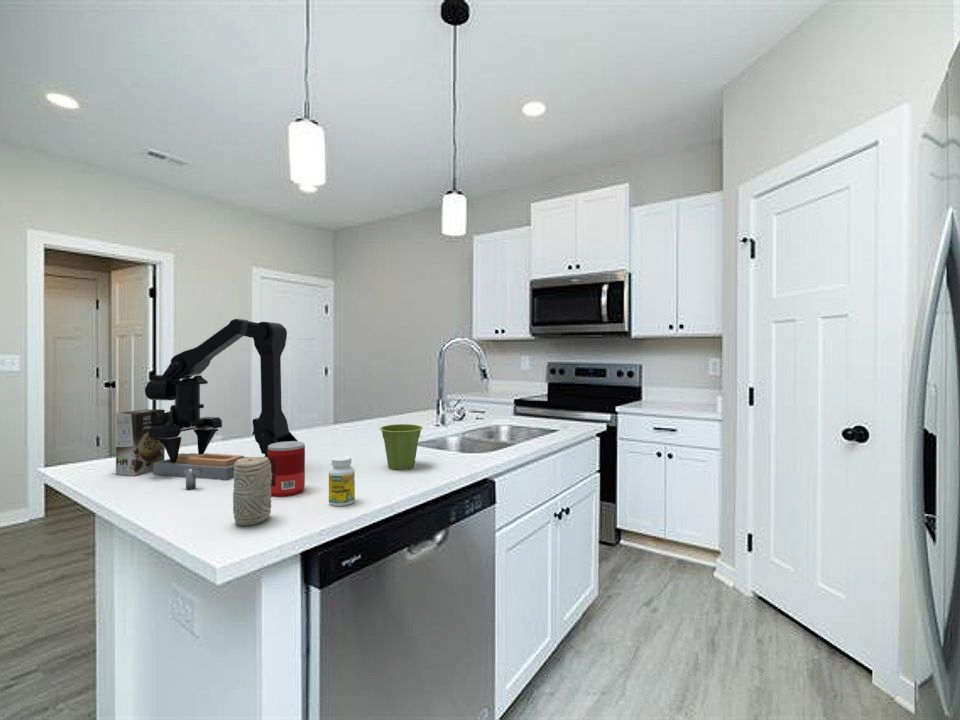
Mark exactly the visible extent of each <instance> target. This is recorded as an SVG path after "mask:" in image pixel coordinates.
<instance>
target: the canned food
mask: <svg viewBox="0 0 960 720" xmlns="http://www.w3.org/2000/svg"><path fill="white" fill-rule="evenodd" d="M268 459H269V461H270V463H271V472H272V480H271V497H275V498H278V497H279V498H281V497H292V496H295V495H299V494H301V493H302V492H304V489H305V487H306V486H305V485H306V484H305V483H306V482H305V480H306V477H305V475H306V471H305V470H306V469H305V468H306V445H305V442H303V441H287V442H278V443H273V444H270V445H269V446H268Z"/></svg>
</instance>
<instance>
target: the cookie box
mask: <svg viewBox="0 0 960 720" xmlns="http://www.w3.org/2000/svg"><path fill="white" fill-rule="evenodd" d="M155 411H162V412H163V413H166V410H165V409H146V408H145V409H140V410H131V411H123V412H122V411H121V412H115V416H116V417H115V418H116V419H115V420H116V423H115V475H118V476H119V475H120V476H121V475H122V476H128V477H130V476H131V477H136V476H140V475H142V474H147V473H152V472H153V463H155V462H159V461H163V460H166V459H165V452H166V449H165V447H164V445H163V444H162V443H161V442H160V441H159V440H155V439H154V438H151V437H149V429H150V428H151V427H152V426H156V425H157V424H152V421H151V413H152V412H155Z"/></svg>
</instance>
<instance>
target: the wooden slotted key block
mask: <svg viewBox="0 0 960 720" xmlns="http://www.w3.org/2000/svg"><path fill="white" fill-rule="evenodd" d="M244 457H245V456H244V455H241V454H239V455H238V454H237V455H235V454H224V453H223V454H222V453H206V452H204V454H201V455H199V454H198V453H195V454H190V453H185V452H183V453H182V452H181V453H178V458H177V461H176V464H190V465H205V466H219V467H228V466H231V465H234V463H235V462H236V461H237V460H238V459H242V458H244Z"/></svg>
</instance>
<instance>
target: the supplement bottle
mask: <svg viewBox="0 0 960 720" xmlns="http://www.w3.org/2000/svg"><path fill="white" fill-rule="evenodd" d="M331 465H332V467H331V468H330V469H329V470H328V503H329V505H330V506H333V507H344V506H350V505H352V504H353V503H355V501H356V499H355V498H356V497H355V494H356V492H355V491H356V489H355V483H356V481H355V479H356V478H355V472H356V470H355V468H354V467H353V466H351V465H352V457H351V456H346V455H345V456H336V457H333V458H331Z"/></svg>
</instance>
